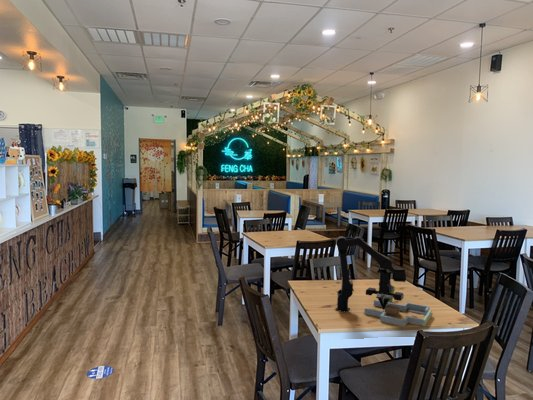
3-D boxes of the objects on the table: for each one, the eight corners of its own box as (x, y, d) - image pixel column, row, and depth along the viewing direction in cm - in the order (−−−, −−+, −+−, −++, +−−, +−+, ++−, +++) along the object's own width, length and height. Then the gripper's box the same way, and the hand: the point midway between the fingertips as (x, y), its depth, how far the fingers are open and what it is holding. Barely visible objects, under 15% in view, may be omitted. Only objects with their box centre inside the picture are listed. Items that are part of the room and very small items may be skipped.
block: (396, 317, 203) (396, 309, 203) (384, 315, 206) (384, 307, 206) (399, 314, 208) (399, 306, 208) (388, 311, 211) (388, 304, 211)
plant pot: (380, 297, 235) (381, 283, 234) (396, 300, 230) (397, 286, 229) (376, 302, 227) (376, 287, 226) (393, 305, 222) (393, 290, 221)
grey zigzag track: (422, 330, 186) (422, 324, 186) (360, 317, 202) (360, 311, 202) (433, 312, 211) (433, 307, 210) (377, 302, 227) (377, 297, 226)
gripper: (406, 280, 211) (405, 308, 212) (372, 275, 221) (371, 302, 222) (401, 285, 202) (400, 314, 203) (365, 279, 211) (364, 307, 213)
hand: (383, 309), depth 210 cm, fingers closed
